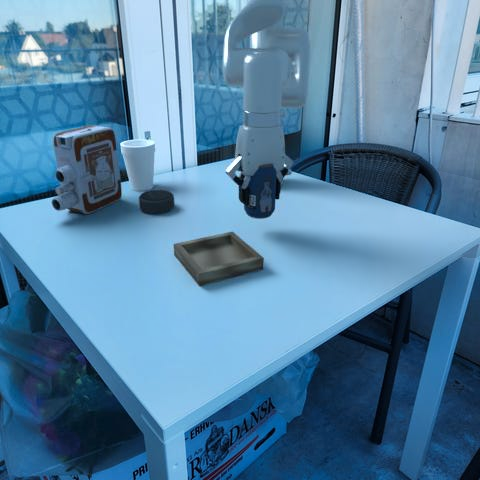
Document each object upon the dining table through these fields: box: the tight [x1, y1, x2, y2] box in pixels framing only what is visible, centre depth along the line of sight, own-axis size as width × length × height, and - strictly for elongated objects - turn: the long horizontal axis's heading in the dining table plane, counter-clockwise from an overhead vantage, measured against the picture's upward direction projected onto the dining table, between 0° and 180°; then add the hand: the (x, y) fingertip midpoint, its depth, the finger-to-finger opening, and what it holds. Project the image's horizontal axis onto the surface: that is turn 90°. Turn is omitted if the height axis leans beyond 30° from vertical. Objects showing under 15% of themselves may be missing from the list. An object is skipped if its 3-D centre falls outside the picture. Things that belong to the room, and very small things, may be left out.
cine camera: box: [51, 124, 123, 215], centre depth 106 cm, size 9×19×20 cm, turn 152°
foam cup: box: [120, 138, 156, 192], centre depth 122 cm, size 10×9×13 cm
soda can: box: [243, 164, 277, 220], centre depth 93 cm, size 7×7×12 cm
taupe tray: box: [173, 231, 265, 287], centre depth 84 cm, size 13×13×2 cm
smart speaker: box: [138, 189, 175, 215], centre depth 110 cm, size 9×9×4 cm
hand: (259, 199), depth 95 cm, fingers closed on soda can, 7 cm apart
